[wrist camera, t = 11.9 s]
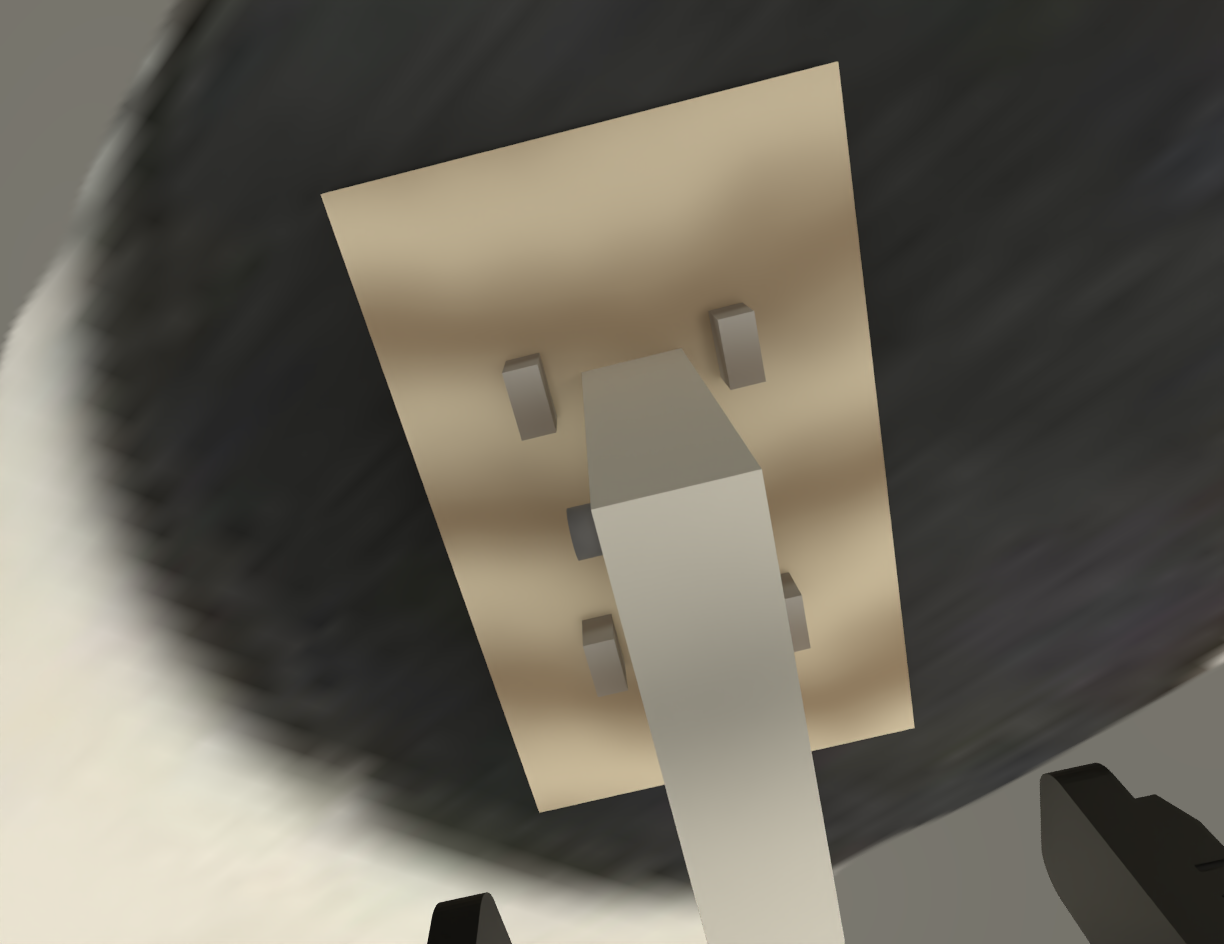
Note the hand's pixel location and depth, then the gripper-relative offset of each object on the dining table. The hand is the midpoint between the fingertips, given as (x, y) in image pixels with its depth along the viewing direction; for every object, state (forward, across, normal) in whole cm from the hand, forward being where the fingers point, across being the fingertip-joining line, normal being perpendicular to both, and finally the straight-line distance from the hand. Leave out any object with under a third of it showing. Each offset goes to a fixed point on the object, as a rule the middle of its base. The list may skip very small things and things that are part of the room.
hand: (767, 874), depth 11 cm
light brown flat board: (+15, 0, 0) cm, 15 cm away
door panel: (+14, 0, +2) cm, 14 cm away
